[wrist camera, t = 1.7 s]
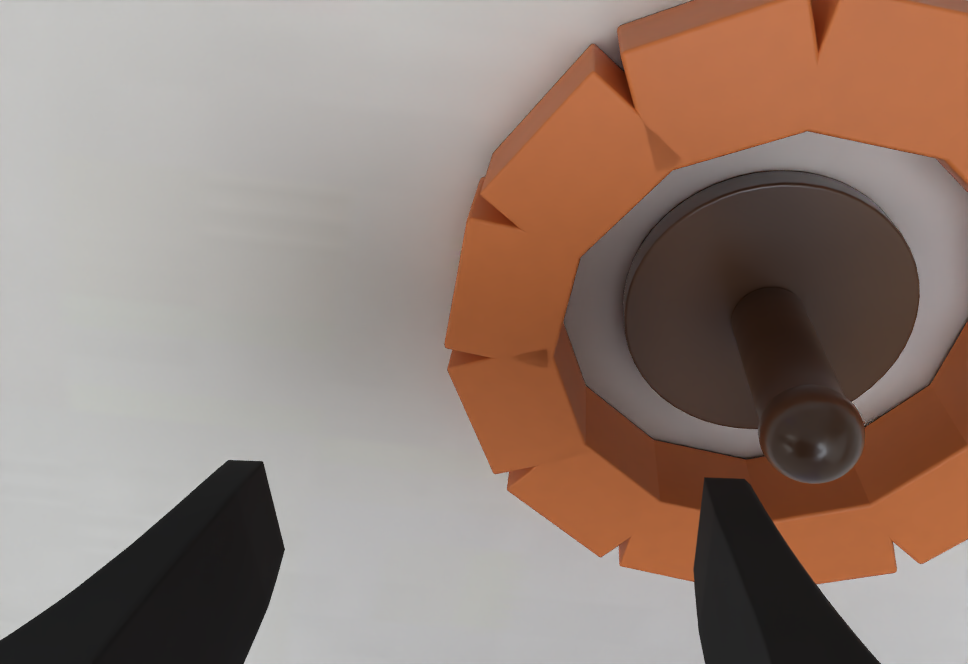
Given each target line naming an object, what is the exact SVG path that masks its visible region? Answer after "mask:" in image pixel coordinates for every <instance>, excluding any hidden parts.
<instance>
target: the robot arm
mask: <svg viewBox="0 0 968 664" xmlns="http://www.w3.org/2000/svg"><path fill="white" fill-rule="evenodd" d="M284 550H285V548H284V544H283V540H282V536H281V532H280V528H279V524H278V520H277V516H276V512H275V508H274V504H273V500H272V496H271V492H270V488H269V484H268V480H267V476H266V472H265V468H264V464H263V461H238V460H228V461H227V462H226V463H224V464H223V465H222V466H221V467H220V468H218V469H217V470H216V471H215V472H214V473H213V474H211V475H210V476H209V477H208V478H207V479H206V480H205V481H203V482H202V483H201V484H200V485H199V486H198V487H197V488H196V489H194V490H193V491H192V492H191V493H190V494H189V495H188V496H187V497H186V498H184V499H183V500H182V501H181V502H180V503H179V504H178V505H176V506H175V507H174V508H173V509H172V510H171V511H170V512H169V513H167V514H166V515H165V516H164V517H163V518H162V519H160V520H159V521H158V522H157V523H156V524H155V525H153V526H152V527H151V528H150V529H149V530H148V531H147V532H145V533H144V534H143V535H142V536H141V537H140V538H138V539H137V540H136V541H135V542H134V543H133V544H131V545H130V546H129V547H128V548H126V549H125V550H124V551H123V552H121V553H120V554H119V555H118V556H116V557H115V558H114V559H113V560H111V561H110V562H109V563H107V564H106V565H105V566H104V567H102V568H101V569H100V570H99V571H97V572H96V573H95V574H94V575H92V576H91V577H90V578H89V579H87V580H86V581H85V582H84V583H82V584H81V585H80V586H79V587H77V588H76V589H74V590H73V591H72V592H70V593H69V594H68V595H66V596H65V597H64V598H62V599H61V600H59V601H58V602H57V603H55V604H54V605H52V606H51V607H50V608H48V609H47V610H45V611H44V612H42V613H41V614H39V615H38V616H37V617H35V618H34V619H32V620H31V621H29V622H28V623H26V624H25V625H23V626H22V627H20V628H19V629H17V630H16V631H14V632H13V633H11V634H10V635H8V636H7V637H5V638H3V639H2V640H0V664H244V662H245V659H246V657H247V655H248V652H249V650H250V648H251V646H252V643H253V641H254V639H255V636H256V634H257V632H258V629H259V627H260V625H261V622H262V620H263V618H264V615H265V613H266V610H267V608H268V606H269V602H270V599H271V596H272V593H273V589H274V586H275V583H276V579H277V576H278V572H279V569H280V565H281V561H282V558H283V554H284ZM693 572H694V584H695V596H696V607H697V617H698V628H699V635H700V640H701V645H702V650H703V655H704V660H705V664H881V663H880V662H879V661H878V660H877V659H876V658H875V657H874V656H873V654H872V653H871V652H870V651H869V650H868V649H867V648H866V646H865V645H864V644H863V643H862V642H861V641H860V639H859V638H858V637H857V636H856V635H855V633H854V632H853V631H852V630H851V628H850V627H849V626H848V625H847V624H846V622H845V621H844V620H843V619H842V617H841V616H840V615H839V614H838V613H837V611H836V610H835V609H834V607H833V606H832V605H831V604H830V602H829V601H828V600H827V598H826V597H825V596H824V594H823V593H822V592H821V590H820V589H819V588H818V586H817V585H816V584H815V582H814V581H813V579H812V578H811V577H810V575H809V574H808V573H807V571H806V570H805V569H804V567H803V566H802V564H801V563H800V562H799V560H798V559H797V557H796V556H795V554H794V553H793V552H792V550H791V549H790V547H789V546H788V544H787V543H786V541H785V540H784V538H783V537H782V535H781V534H780V532H779V531H778V529H777V528H776V526H775V524H774V523H773V521H772V520H771V518H770V516H769V515H768V513H767V512H766V510H765V508H764V507H763V505H762V503H761V502H760V500H759V498H758V497H757V495H756V493H755V491H754V490H753V488H752V486H751V485H750V484H749V483H748V482H747V481H746V480H745V479H737V478H709V477H704V484H703V493H702V501H701V510H700V518H699V526H698V535H697V543H696V552H695V560H694V568H693Z"/></svg>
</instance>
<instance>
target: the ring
mask: <svg viewBox="0 0 968 664" xmlns="http://www.w3.org/2000/svg"><path fill="white" fill-rule="evenodd" d="M617 34H618V41H619V48H620V55H621V60H622V63H623V67H624V71H625V72H624V71H623V70H622V69H621V68H619V67H618V66H617V65H616V64H615V63H614V62H613V61H612V60H611V59H610V58H609V57H608V56H607V55H606V54H605V53H604V52H603V51H602V50H601V49H599V48H598V47H597V46H596V45H595V44H591V45H590V46H589V47H588V48H587V49H586V50H585V52H584V53H583V54H582V55H581V56H580V57H579V58H578V59H577V60H576V62H575V63H574V64H573V65H572V66H571V67H570V68H569V69H568V70H567V72H566V73H565V74H564V75H563V76H562V77H561V78H560V79H559V80H558V82H557V83H556V84H555V85H554V86H553V87H552V88H551V89H550V90H549V92H548V93H547V94H546V95H545V96H544V97H543V98H542V99H541V100H540V102H539V103H538V104H537V105H536V106H535V107H534V108H533V109H532V110H531V112H530V113H529V114H528V115H527V116H526V117H525V118H524V119H523V120H522V122H521V123H520V124H519V125H518V126H517V127H516V128H515V129H514V130H513V132H512V133H511V134H510V135H509V136H508V137H507V138H506V139H505V140H504V142H503V143H502V144H501V145H500V146H499V147H498V148H497V149H496V150H495V152H494V153H493V154H492V157H491V161H490V164H489V167H488V170H487V173H486V177H482V178H481V179H480V181H479V184H478V187H477V190H476V193H475V197H474V200H473V203H472V206H471V209H470V212H469V215H468V218H467V222H466V228H465V233H464V239H463V244H462V250H461V255H460V261H459V266H458V272H457V277H456V283H455V288H454V294H453V299H452V305H451V311H450V316H449V322H448V327H447V333H446V338H445V344H444V345H445V348H447V349H452V353H451V357H450V361H449V364H448V368H447V370H448V373H449V375H450V377H451V379H452V382H453V384H454V386H455V388H456V390H457V393H458V395H459V397H460V399H461V402H462V404H463V406H464V408H465V411H466V413H467V415H468V417H469V420H470V422H471V424H472V426H473V428H474V431H475V433H476V435H477V437H478V440H479V442H480V444H481V446H482V449H483V451H484V453H485V455H486V458H487V460H488V462H489V464H490V467H491V469H492V471H493V473H494V474H499V473H504V472H509V477H508V484H507V490H508V491H509V492H510V493H512V494H513V495H515V496H516V497H517V498H519V499H520V500H521V501H523V502H524V503H526V504H527V505H528V506H530V507H531V508H532V509H534V510H535V511H537V512H538V513H539V514H541V515H542V516H544V517H545V518H546V519H548V520H549V521H550V522H552V523H553V524H555V525H556V526H557V527H559V528H560V529H562V530H563V531H564V532H566V533H567V534H568V535H570V536H571V537H573V538H574V539H575V540H577V541H578V542H579V543H581V544H582V545H584V546H585V547H586V548H588V549H589V550H591V551H592V552H593V553H595V554H596V555H597V556H599V557H602V556H604V555H605V554H607V553H608V552H610V551H611V550H613V549H614V548H615V547H617V546H618V545H619V564H620V566H622V567H627V568H632V569H636V570H641V571H646V572H650V573H655V574H660V575H664V576H669V577H674V578H678V579H683V580H688V581H693V582H694V572H693V568H694V560H695V552H696V543H697V535H698V526H699V518H700V510H701V501H702V493H703V484H704V477H709V478H737V479H745V480H746V481H747V482H748V483H749V484H750V485H751V486H752V488H753V490H754V491H755V493H756V495H757V497H758V498H759V500H760V502H761V503H762V505H763V507H764V508H765V510H766V512H767V513H768V515H769V516H770V518H771V520H772V521H773V523H774V524H775V526H776V528H777V529H778V531H779V532H780V534H781V535H782V537H783V538H784V540H785V541H786V543H787V544H788V546H789V547H790V549H791V550H792V552H793V553H794V554H795V556H796V557H797V559H798V560H799V562H800V563H801V564H802V566H803V567H804V569H805V570H806V571H807V573H808V574H809V575H810V577H811V578H812V579H813V581H814V582H815V584H821V583H828V582H835V581H842V580H849V579H856V578H863V577H869V576H876V575H883V574H890V573H895V572H896V571H897V566H896V560H895V553H894V546H893V542H894V543H895V544H896V545H898V546H899V547H900V548H901V549H902V550H904V551H905V552H906V553H907V554H908V555H910V556H911V557H912V558H913V559H914V560H915V561H917V562H918V563H919V564H923V563H925V562H927V561H929V560H930V559H932V558H934V557H936V556H938V555H940V554H941V553H943V552H945V551H947V550H949V549H951V548H952V547H954V546H956V545H958V544H960V543H962V542H963V541H965V540H967V539H968V321H967V323H966V324H965V326H964V328H963V330H962V331H961V333H960V335H959V336H958V338H957V340H956V341H955V343H954V345H953V347H952V348H951V350H950V352H949V353H948V355H947V357H946V359H945V360H944V362H943V364H942V365H941V367H940V369H939V370H938V372H937V374H936V376H935V377H934V379H933V381H932V382H931V384H930V385H929V386H927V387H926V388H924V389H923V390H921V391H920V392H918V393H917V394H915V395H914V396H912V397H911V398H909V399H907V400H906V401H904V402H903V403H901V404H900V405H898V406H897V407H895V408H894V409H892V410H891V411H889V412H888V413H886V414H885V415H883V416H882V417H880V418H878V419H877V420H875V421H874V422H872V423H871V424H869V425H868V426H866V427H865V444H864V449H863V452H862V454H861V456H860V459H859V460H858V462H857V463H856V464H855V466H854V467H853V468H852V469H851V470H850V471H849V472H848V473H846V474H845V475H843V476H842V477H840V478H838V479H836V480H833V481H830V482H826V483H820V484H809V483H802V482H798V481H795V480H793V479H790V478H788V477H786V476H784V475H783V474H781V473H780V472H779V471H777V470H776V469H775V468H774V467H773V466H772V465H771V464H770V462H769V461H768V460H767V458H766V457H765V456H763V457H758V458H753V459H747V460H746V459H741V458H737V457H732V456H727V455H723V454H718V453H713V452H708V451H704V450H699V449H694V448H690V447H685V446H680V445H676V444H671V443H666V442H661V441H657V440H653V439H652V438H651V437H649V436H648V435H647V434H646V433H644V432H643V431H642V430H641V429H639V428H638V427H637V426H636V425H634V424H633V423H632V422H630V421H629V420H628V419H627V418H625V417H624V416H623V415H622V414H620V413H619V412H618V411H617V410H615V409H614V408H613V407H612V406H610V405H609V404H608V403H607V402H605V401H604V400H603V399H602V398H600V397H599V396H598V395H597V394H595V393H594V392H593V391H591V390H590V389H589V388H588V387H586V385H585V382H584V379H583V377H582V374H581V371H580V368H579V365H578V362H577V360H576V357H575V354H574V351H573V348H572V345H571V343H570V340H569V337H568V334H567V331H566V329H565V326H564V323H563V321H564V317H565V313H566V310H567V306H568V302H569V298H570V295H571V291H572V287H573V284H574V280H575V276H576V273H577V269H578V265H579V262H580V258H581V257H582V256H583V255H584V254H585V253H586V252H587V251H588V250H589V249H590V248H591V247H592V246H593V245H594V244H595V243H596V242H597V241H598V240H599V239H601V238H602V237H603V236H604V235H605V234H606V233H607V232H608V231H609V230H610V229H611V228H612V227H613V226H614V225H615V224H616V223H617V222H618V221H620V220H621V219H622V218H623V217H624V216H625V215H626V214H627V213H628V212H629V211H630V210H631V209H632V208H633V207H634V206H635V205H636V204H637V203H639V202H640V201H641V200H642V199H643V198H644V197H645V196H646V195H647V194H648V193H649V192H650V191H651V190H652V189H653V188H654V187H655V186H657V185H658V184H659V183H660V182H661V181H662V180H663V179H664V178H665V177H666V176H667V175H668V174H669V173H670V172H671V171H672V170H675V169H679V168H682V167H686V166H689V165H693V164H696V163H699V162H703V161H706V160H710V159H713V158H717V157H720V156H724V155H727V154H731V153H734V152H737V151H741V150H744V149H748V148H751V147H755V146H758V145H762V144H765V143H768V142H772V141H775V140H779V139H782V138H786V137H789V136H793V135H796V134H800V133H803V132H806V131H809V132H814V133H819V134H824V135H828V136H833V137H838V138H843V139H847V140H852V141H857V142H861V143H866V144H871V145H876V146H880V147H885V148H890V149H895V150H899V151H904V152H909V153H914V154H918V155H923V156H928V157H932V158H936V159H937V160H938V162H939V163H940V164H941V165H942V166H943V167H944V168H945V169H946V170H947V171H948V172H949V173H950V174H951V175H952V176H953V177H954V179H955V180H956V181H957V182H958V183H959V184H960V185H961V186H962V187H963V188H964V189H965V190H966V191H967V192H968V1H967V0H693V1H690V2H688V3H685V4H682V5H679V6H676V7H673V8H670V9H667V10H664V11H661V12H658V13H656V14H653V15H650V16H647V17H644V18H641V19H638V20H635V21H632V22H629V23H626V24H624V25H621V26H619V27H618V29H617Z"/></svg>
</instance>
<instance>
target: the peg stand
mask: <svg viewBox="0 0 968 664" xmlns="http://www.w3.org/2000/svg"><path fill="white" fill-rule="evenodd" d="M919 298H920V294H919V277H918V272H917V267H916V263H915V260H914V258H913V255H912V252H911V250H910V248H909V246H908V244H907V243H906V241H905V239H904V237H903V236H902V234H901V233H900V231H899V230H898V229H897V228H896V226H895V225H894V224H893V223H892V221H891V220H890V219H889V218H888V217H887V215H886V214H885V213H884V212H883V211H882V210H881V208H880V207H878V206H877V205H876V204H875V203H874V202H873V201H871V200H870V199H869V198H868V197H867V196H865V195H863V194H862V193H860V192H859V191H857V190H855V189H854V188H852V187H850V186H848V185H846V184H843V183H841V182H839V181H836V180H834V179H831V178H827V177H823V176H820V175H816V174H810V173H803V172H796V171H771V172H761V173H753V174H748V175H744V176H739V177H735V178H732V179H729V180H726V181H723V182H720V183H718V184H715V185H713V186H711V187H709V188H707V189H704V190H702V191H700V192H698V193H696V194H695V195H693V196H692V197H690V198H689V199H687V200H685V201H684V202H682V203H681V204H679V205H678V206H677V207H676V208H674V209H673V210H672V211H671V212H670V213H668V214H667V215H666V216H665V217H664V218H663V219H662V220H661V221H660V222H659V223H658V224H657V225H656V226H655V227H654V228H653V229H652V231H651V232H650V234H649V235H648V236H647V238H646V239H645V240H644V242H643V243H642V245H641V246H640V248H639V250H638V252H637V254H636V255H635V257H634V259H633V262H632V264H631V267H630V269H629V272H628V275H627V279H626V284H625V288H624V298H623V312H624V327H625V336H626V340H627V345H628V349H629V351H630V354H631V356H632V359H633V361H634V363H635V365H636V367H637V368H638V370H639V372H640V374H641V375H642V377H643V378H644V379H645V380H646V381H647V383H648V384H649V385H650V386H651V388H652V389H654V390H655V391H656V392H657V393H658V394H659V395H660V396H661V397H662V398H663V399H665V400H666V401H667V402H669V403H670V404H672V405H673V406H674V407H676V408H678V409H680V410H681V411H683V412H685V413H687V414H689V415H691V416H693V417H696V418H698V419H701V420H704V421H707V422H710V423H714V424H718V425H722V426H728V427H734V428H746V429H758V435H759V442H760V445H761V448H762V451H763V453H764V455H765V457H766V458H767V460H768V461H769V462H770V464H771V465H772V466H773V467H774V468H775V469H776V470H777V471H779V472H780V473H781V474H783V475H784V476H786V477H788V478H790V479H793V480H795V481H798V482H802V483H809V484H820V483H826V482H830V481H833V480H836V479H838V478H840V477H842V476H843V475H845V474H846V473H848V472H849V471H850V470H851V469H852V468H853V467H854V466H855V464H856V463H857V462H858V460H859V459H860V456H861V454H862V452H863V449H864V444H865V428H864V424H863V421H862V418H861V416H860V413H859V412H858V410H857V409H856V407H855V406H854V405H853V404H852V402H851V401H853V400H855V399H856V398H858V397H859V396H860V395H862V394H863V393H864V392H866V391H867V390H868V389H870V388H871V387H872V386H873V385H874V384H875V383H876V382H877V381H878V380H879V379H881V378H882V377H883V376H884V375H885V373H886V372H887V371H888V370H889V369H890V367H891V366H892V365H893V364H894V363H895V361H896V360H897V358H898V357H899V355H900V354H901V352H902V351H903V349H904V347H905V346H906V343H907V341H908V339H909V337H910V335H911V333H912V330H913V327H914V323H915V320H916V317H917V312H918V305H919Z"/></svg>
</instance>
